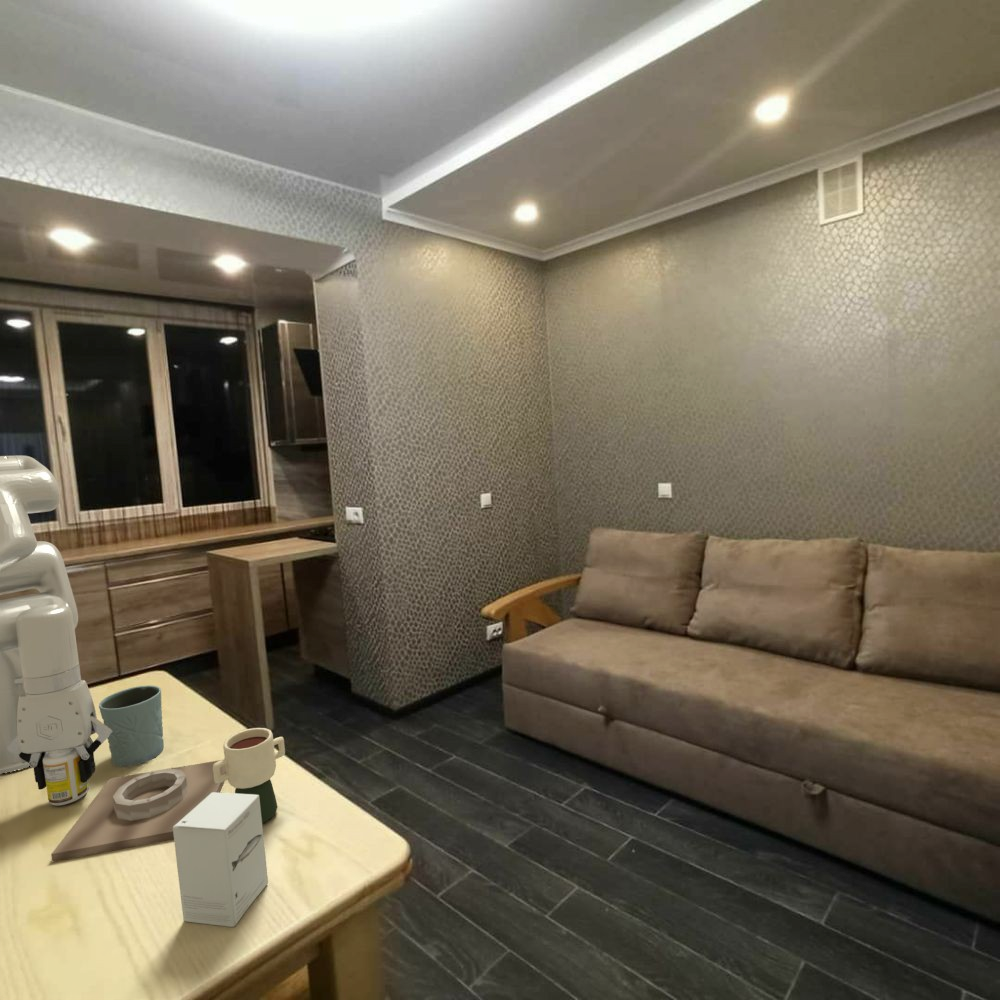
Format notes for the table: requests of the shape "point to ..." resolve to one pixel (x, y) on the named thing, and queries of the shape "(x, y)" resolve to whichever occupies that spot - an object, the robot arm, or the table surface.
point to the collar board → (138, 810)
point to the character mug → (252, 766)
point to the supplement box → (220, 858)
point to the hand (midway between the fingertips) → (66, 780)
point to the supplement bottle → (63, 776)
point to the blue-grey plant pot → (134, 724)
